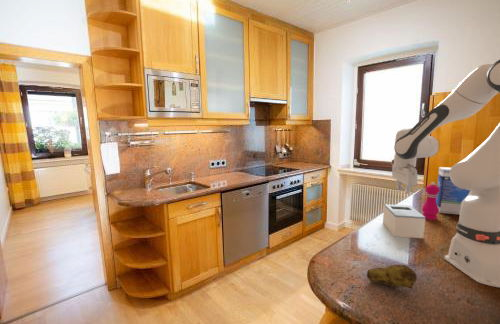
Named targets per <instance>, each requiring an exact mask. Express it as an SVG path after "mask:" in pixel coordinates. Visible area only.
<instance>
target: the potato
mask: <svg viewBox="0 0 500 324" xmlns="http://www.w3.org/2000/svg"><path fill="white" fill-rule="evenodd" d="M366 277H367V279H368V280H369V281H370V282H371V283H374V284H380V285H381V286H382V285H383V286H385V287H391V288H408V289H413V286H414V284H415V283H416V281H417V279H418V277H417V274H416V272H415V271H414V270H413V269H412V268H410V267H409V266H407V265H405V264H392V265H389V266H385V267H372V268H370V269H367V272H366Z"/></svg>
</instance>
